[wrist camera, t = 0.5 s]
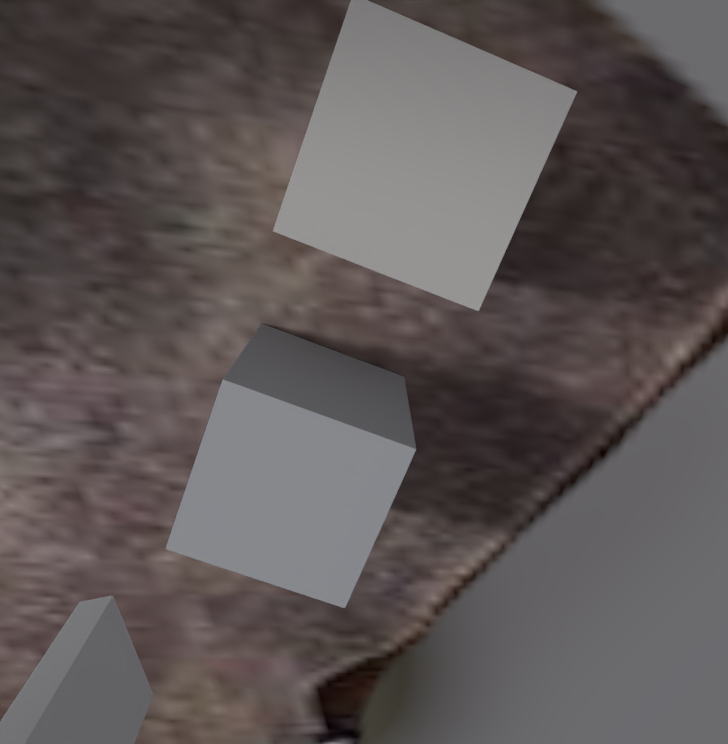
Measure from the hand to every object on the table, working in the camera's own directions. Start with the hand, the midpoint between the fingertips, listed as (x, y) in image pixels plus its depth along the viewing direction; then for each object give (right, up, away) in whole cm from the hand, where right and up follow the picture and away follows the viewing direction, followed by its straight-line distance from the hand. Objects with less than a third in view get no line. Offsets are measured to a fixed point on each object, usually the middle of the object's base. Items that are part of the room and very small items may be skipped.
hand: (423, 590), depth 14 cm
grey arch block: (-5, +2, +24) cm, 25 cm away
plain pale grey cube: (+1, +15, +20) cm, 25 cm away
